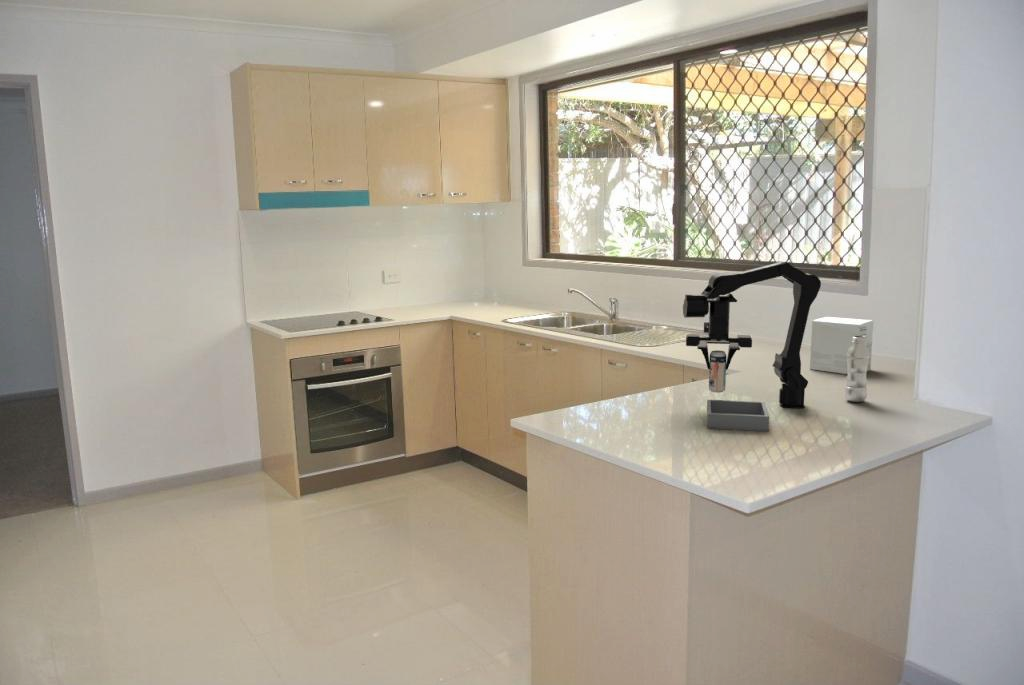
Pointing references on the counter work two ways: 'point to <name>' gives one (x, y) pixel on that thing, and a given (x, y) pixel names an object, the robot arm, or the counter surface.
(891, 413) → the counter surface
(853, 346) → the plastic bottle
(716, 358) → the beer can
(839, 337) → the supplement box
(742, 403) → the box
